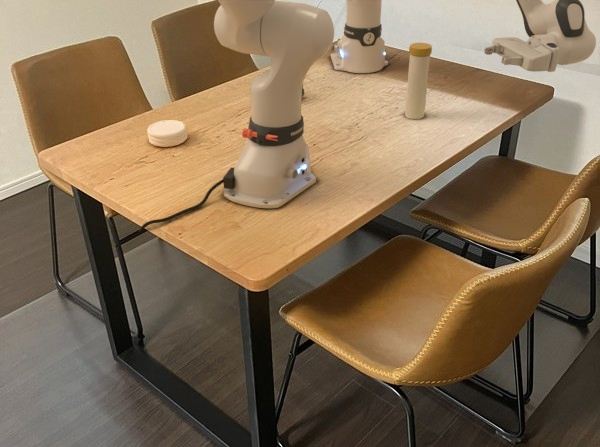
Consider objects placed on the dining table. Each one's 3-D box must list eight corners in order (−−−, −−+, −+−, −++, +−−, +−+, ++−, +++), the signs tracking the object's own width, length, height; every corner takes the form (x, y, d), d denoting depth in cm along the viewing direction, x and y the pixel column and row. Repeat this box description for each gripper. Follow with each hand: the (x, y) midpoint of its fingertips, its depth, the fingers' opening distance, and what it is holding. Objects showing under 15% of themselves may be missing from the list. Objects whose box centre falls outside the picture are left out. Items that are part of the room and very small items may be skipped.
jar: (413, 110, 176) (419, 43, 166) (427, 115, 173) (434, 47, 162) (401, 115, 173) (406, 47, 163) (416, 120, 170) (422, 51, 159)
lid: (418, 48, 167) (419, 41, 166) (435, 52, 163) (436, 45, 162) (404, 52, 164) (405, 45, 162) (422, 57, 160) (422, 50, 159)
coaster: (150, 132, 165) (149, 120, 163) (188, 130, 166) (187, 118, 164) (146, 148, 157) (144, 135, 155) (186, 146, 157) (185, 133, 155)
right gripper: (520, 30, 179) (477, 34, 176) (563, 50, 162) (515, 55, 159) (516, 51, 182) (474, 56, 179) (558, 73, 166) (511, 78, 163)
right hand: (494, 55), depth 169 cm, fingers open, 8 cm apart
